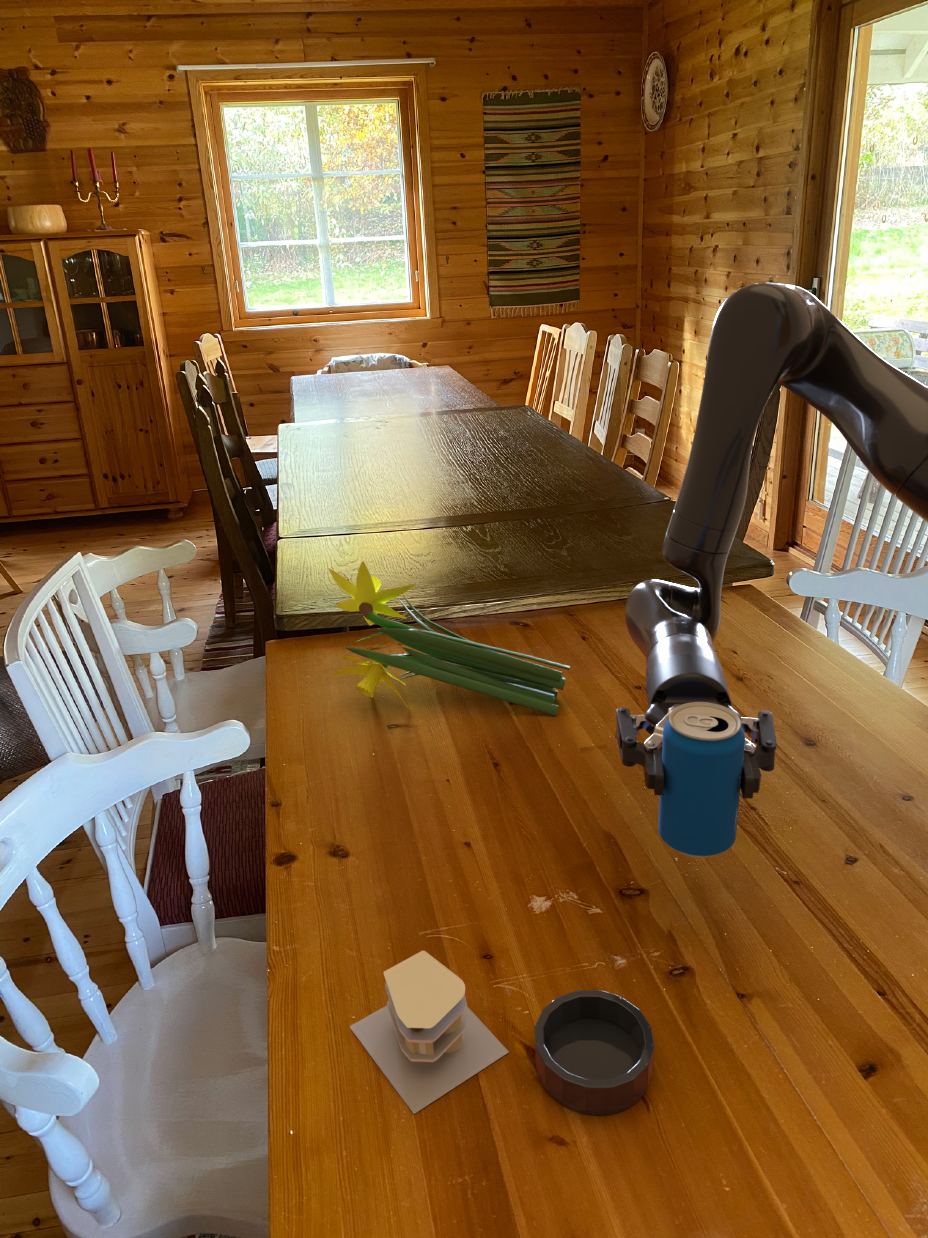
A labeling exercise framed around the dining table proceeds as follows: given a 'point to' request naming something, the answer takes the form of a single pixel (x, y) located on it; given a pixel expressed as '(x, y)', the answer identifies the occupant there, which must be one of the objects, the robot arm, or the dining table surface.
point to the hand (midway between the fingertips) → (704, 787)
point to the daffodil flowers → (443, 653)
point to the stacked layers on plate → (426, 1032)
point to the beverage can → (701, 779)
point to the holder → (594, 1052)
